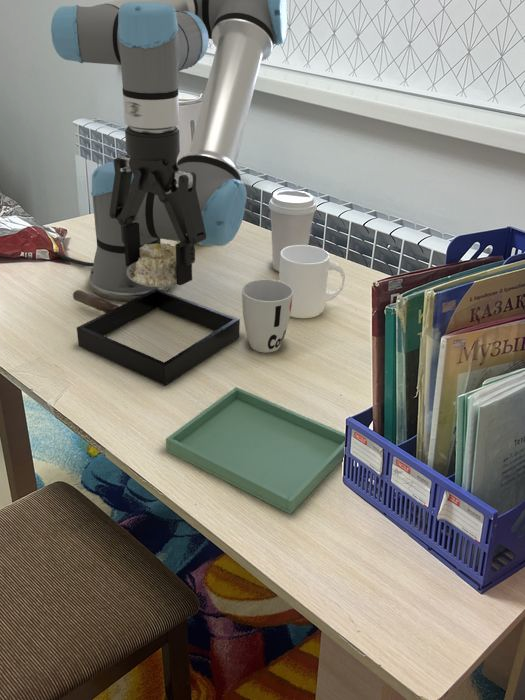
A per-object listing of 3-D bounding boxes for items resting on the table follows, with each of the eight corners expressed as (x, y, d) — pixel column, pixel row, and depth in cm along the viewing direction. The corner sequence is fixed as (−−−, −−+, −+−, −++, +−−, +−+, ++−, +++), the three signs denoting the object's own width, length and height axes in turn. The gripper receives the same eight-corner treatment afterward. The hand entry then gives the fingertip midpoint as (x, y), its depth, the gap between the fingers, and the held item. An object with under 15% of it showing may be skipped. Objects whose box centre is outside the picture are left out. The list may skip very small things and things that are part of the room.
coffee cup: (320, 265, 143) (326, 195, 136) (297, 281, 136) (302, 207, 129) (280, 254, 147) (284, 185, 140) (256, 268, 140) (259, 197, 133)
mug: (347, 318, 124) (354, 263, 118) (281, 320, 122) (285, 264, 116) (336, 296, 131) (341, 243, 125) (273, 298, 129) (276, 245, 124)
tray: (166, 450, 90) (165, 438, 89) (235, 398, 101) (236, 386, 100) (290, 514, 81) (291, 501, 80) (352, 449, 92) (353, 437, 91)
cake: (188, 263, 113) (190, 232, 110) (192, 290, 105) (195, 258, 102) (126, 260, 111) (126, 228, 108) (125, 288, 103) (126, 255, 100)
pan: (34, 326, 117) (31, 307, 115) (113, 289, 130) (112, 272, 128) (165, 386, 103) (164, 366, 101) (239, 337, 116) (240, 319, 114)
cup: (273, 362, 110) (276, 306, 104) (230, 347, 113) (231, 292, 108) (298, 341, 116) (302, 287, 110) (257, 328, 119) (259, 275, 114)
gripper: (75, 117, 99) (89, 261, 110) (197, 146, 88) (199, 302, 100) (113, 109, 104) (123, 247, 116) (233, 135, 94) (230, 284, 105)
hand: (158, 272), depth 108 cm, fingers closed on cake, 10 cm apart
